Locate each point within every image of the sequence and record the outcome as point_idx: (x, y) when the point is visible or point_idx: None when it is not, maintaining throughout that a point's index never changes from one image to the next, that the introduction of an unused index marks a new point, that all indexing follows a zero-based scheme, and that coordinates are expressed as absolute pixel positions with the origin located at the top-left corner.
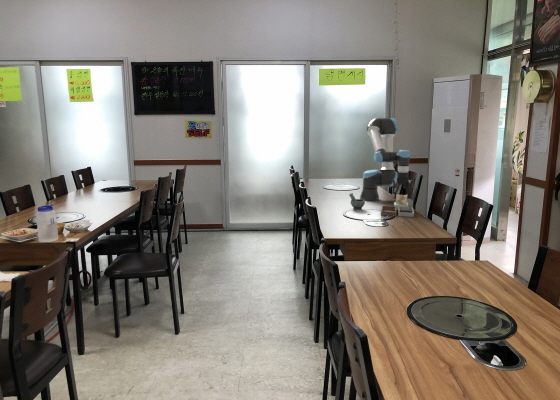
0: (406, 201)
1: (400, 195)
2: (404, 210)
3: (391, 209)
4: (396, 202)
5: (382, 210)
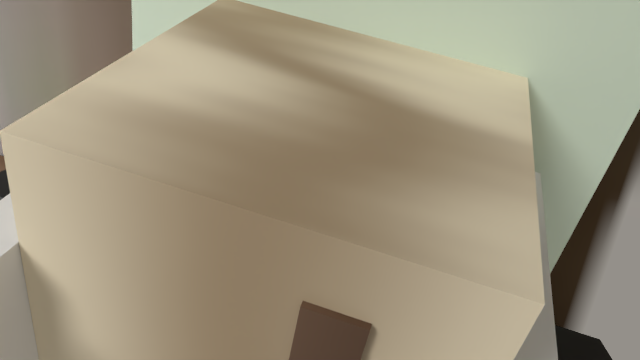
0: None
1: (176, 339)
2: None
3: None
4: None
5: None
